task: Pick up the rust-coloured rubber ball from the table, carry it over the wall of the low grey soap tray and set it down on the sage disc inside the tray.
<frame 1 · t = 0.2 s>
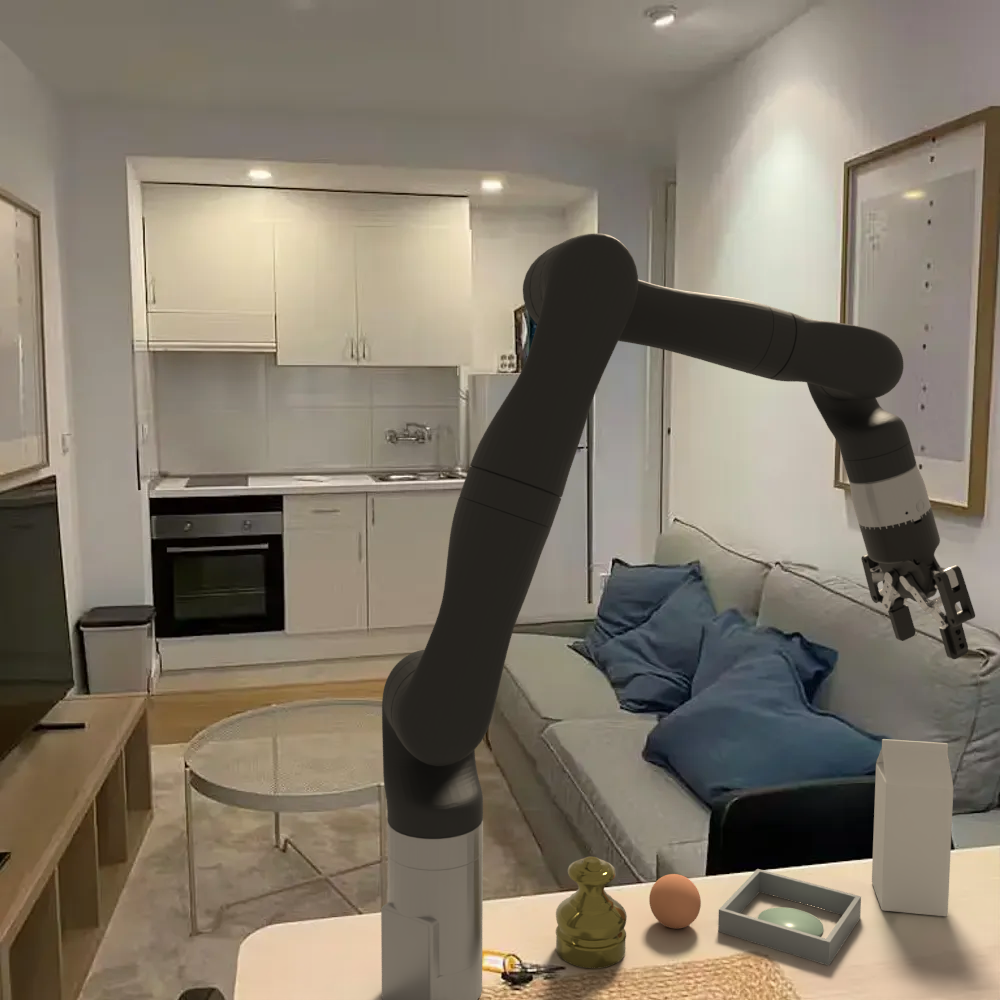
hand: (931, 646, 112), 31 cm above the table, tool tilted 20°, fingers open, 8 cm apart
olive green chess piece: (590, 953, 106), on the table
milk carton: (908, 901, 118), on the table
grey soap tray: (790, 924, 112), on the table
ball: (674, 925, 112), on the table
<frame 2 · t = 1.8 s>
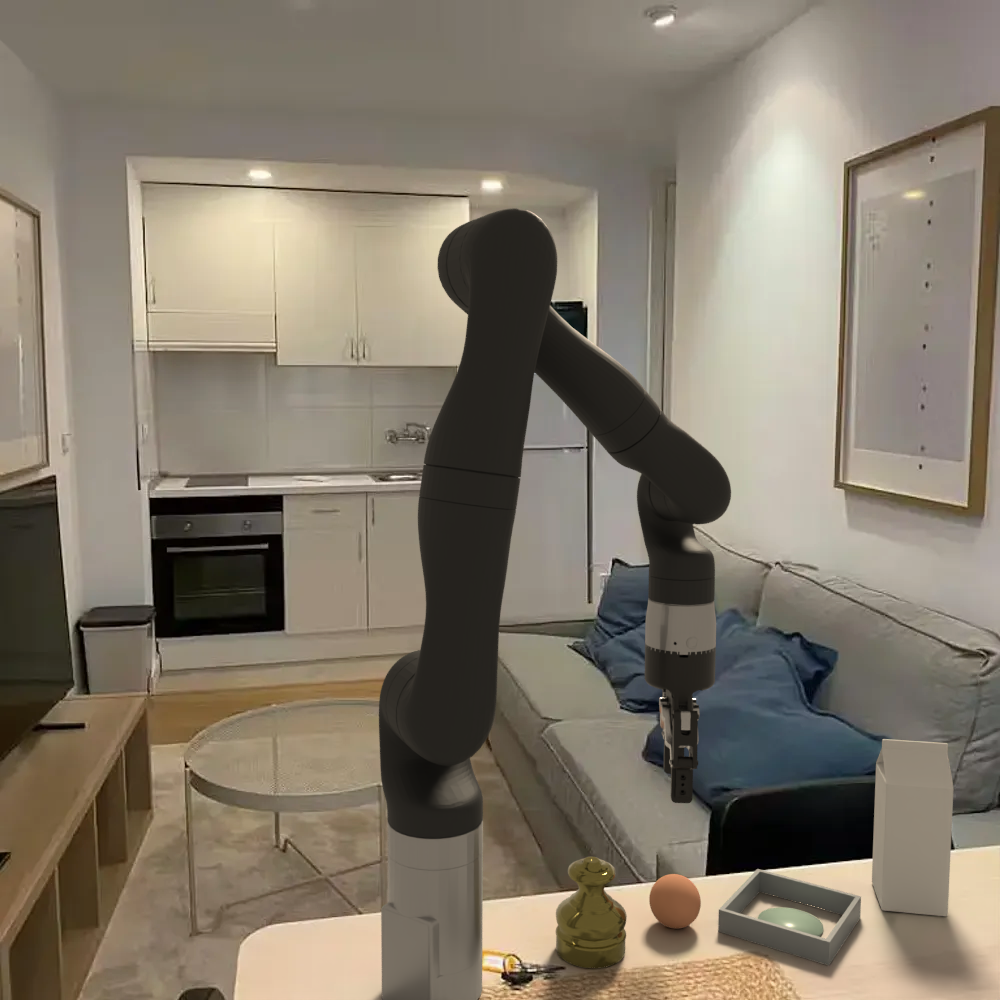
hand: (677, 786, 110), 16 cm above the table, tool pointing down, fingers open, 8 cm apart
nothing on the table moved.
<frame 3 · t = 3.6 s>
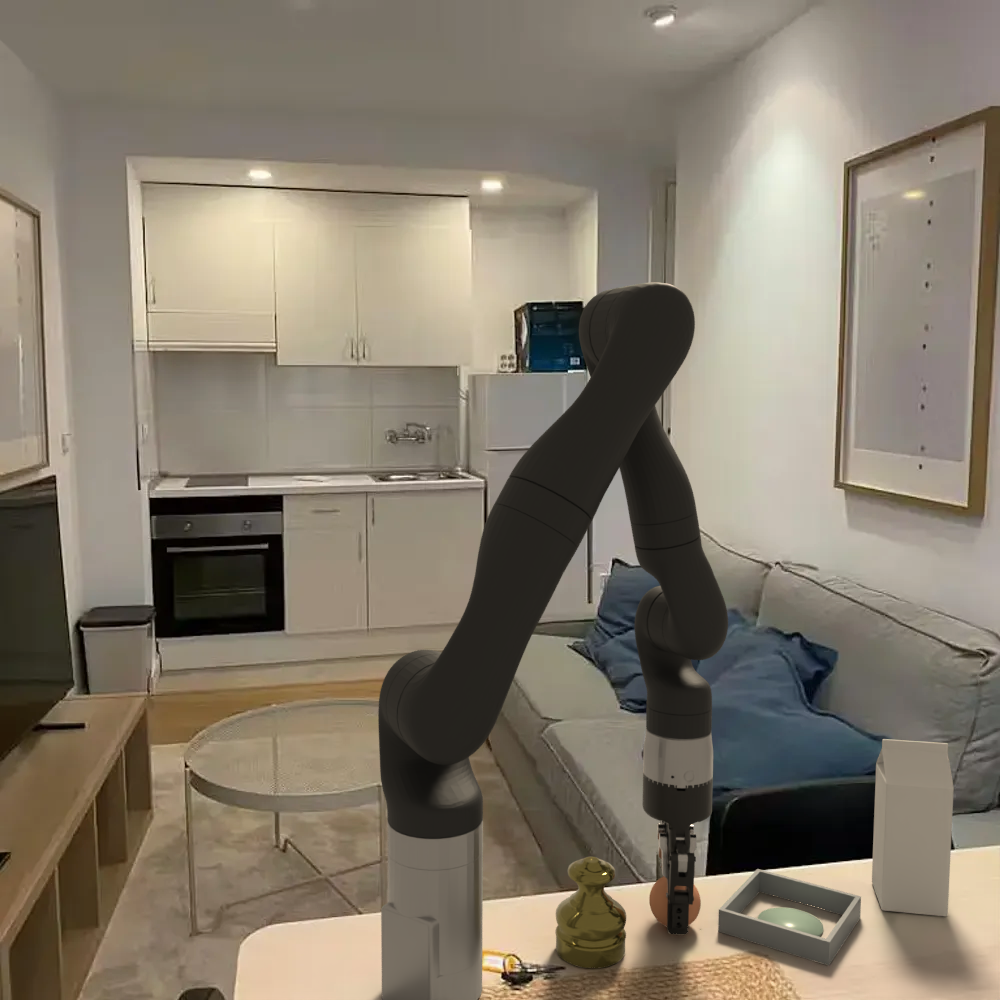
hand: (674, 918, 112), 1 cm above the table, tool pointing down, fingers closed on ball, 5 cm apart
ball: (674, 925, 112), on the table, touching gripper
everything else where it was.
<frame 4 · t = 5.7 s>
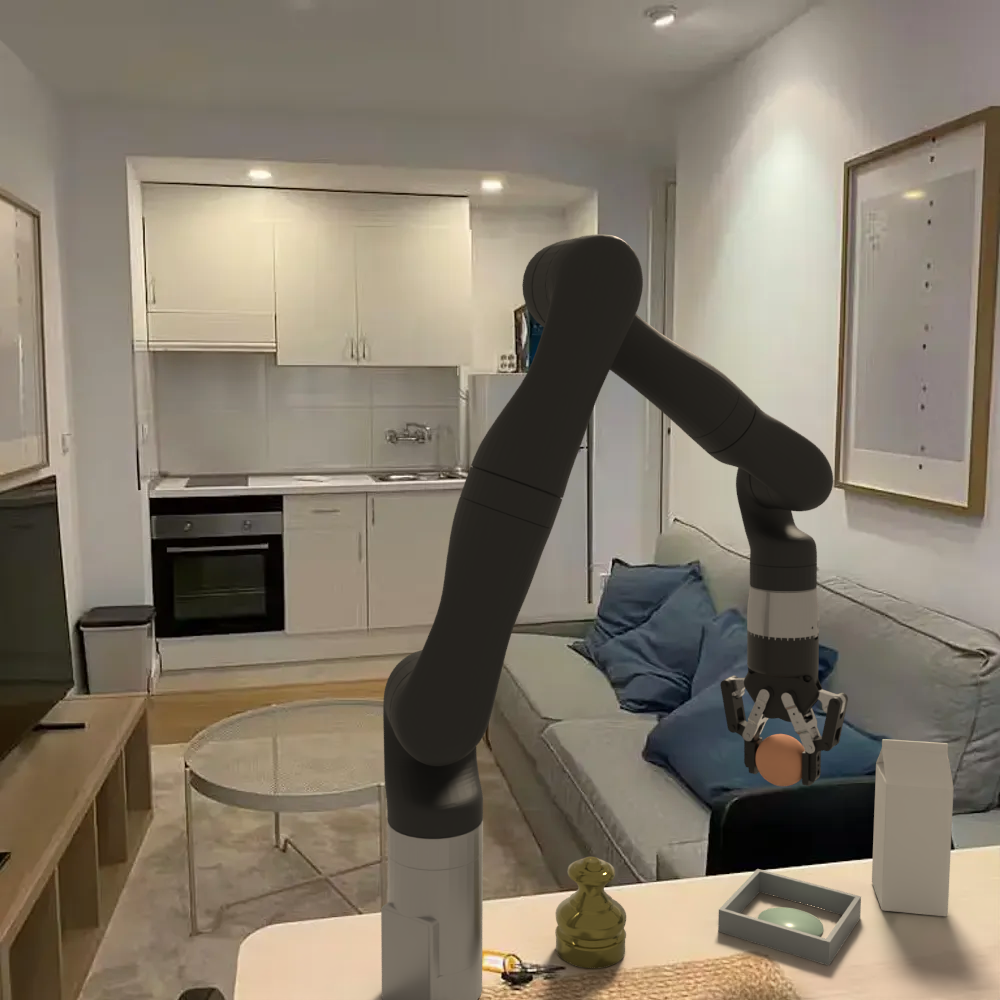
hand: (781, 777, 112), 16 cm above the table, tool pointing down, fingers closed on ball, 5 cm apart
ball: (781, 784, 112), point 16 cm above the table, touching gripper
everything else where it was.
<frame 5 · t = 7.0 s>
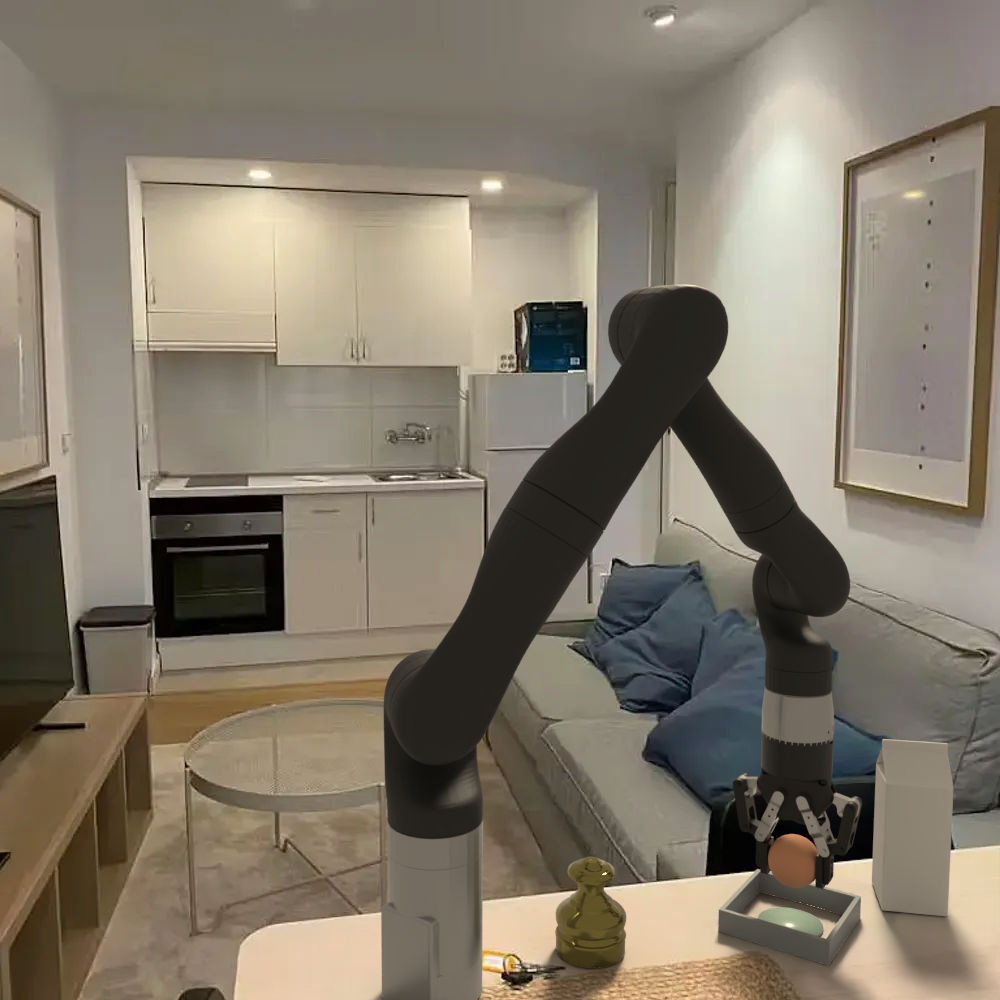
hand: (793, 877, 111), 5 cm above the table, tool pointing down, fingers closed on ball, 5 cm apart
ball: (793, 885, 112), point 5 cm above the table, touching gripper
everything else where it was.
when the fingers open (3 cm above the table, at t = 7.8 s): ball drops 2 cm, resting on grey soap tray.
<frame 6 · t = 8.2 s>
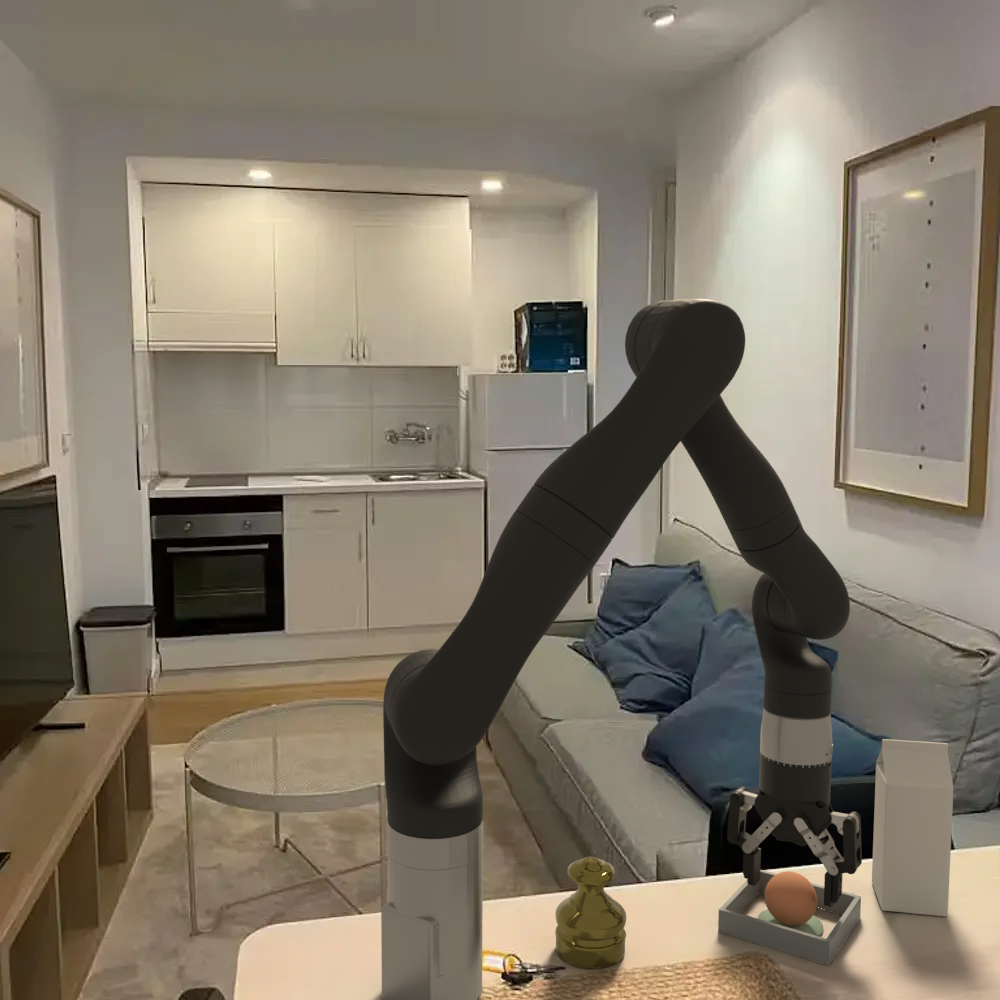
hand: (791, 893, 112), 4 cm above the table, tool pointing down, fingers open, 8 cm apart
ball: (790, 922, 112), resting on grey soap tray
everything else where it was.
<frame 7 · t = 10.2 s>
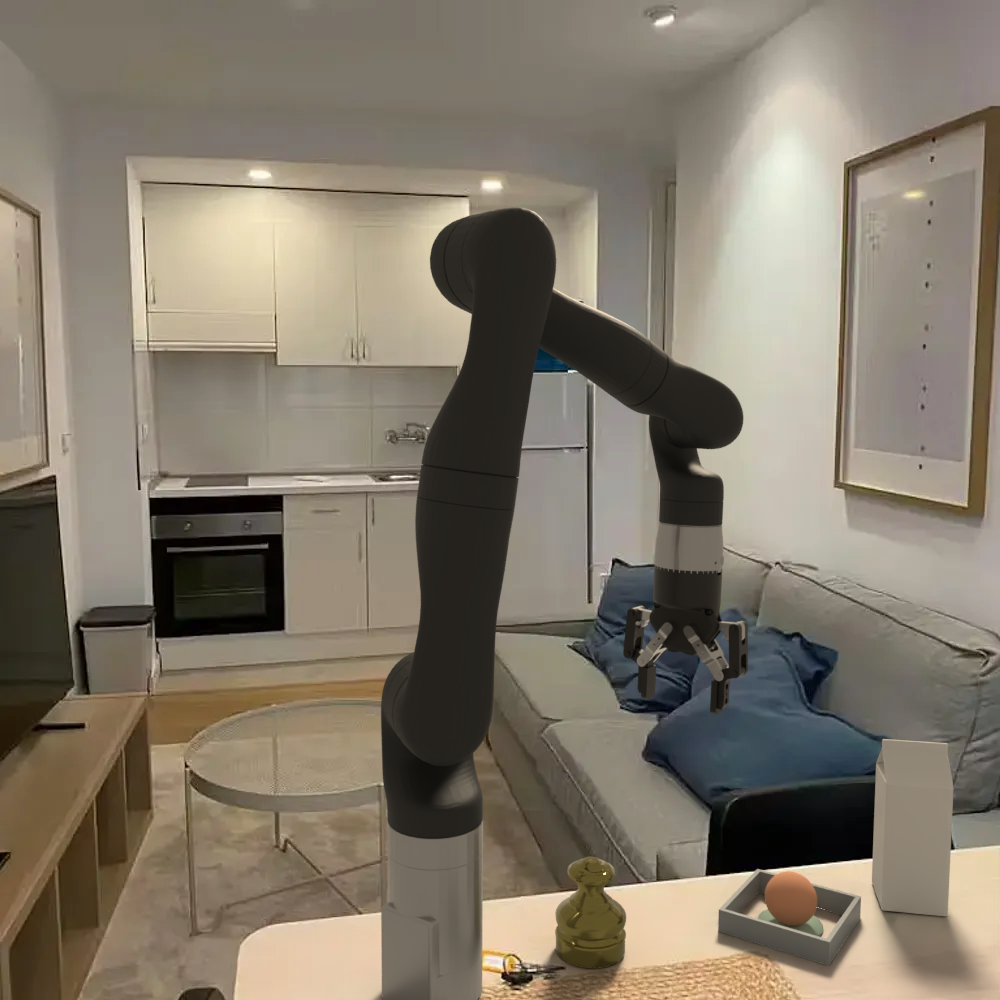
hand: (681, 704, 115), 23 cm above the table, tool pointing down, fingers open, 8 cm apart
nothing on the table moved.
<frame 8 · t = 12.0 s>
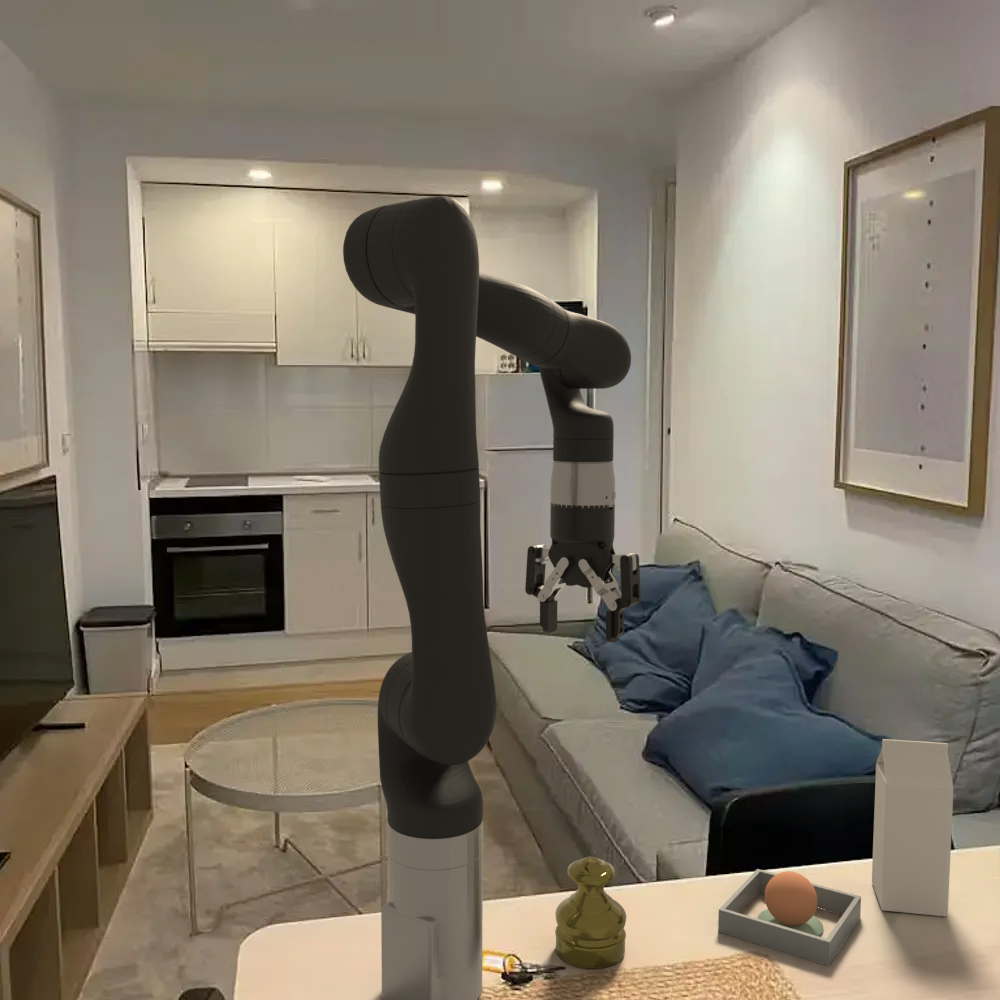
hand: (580, 636, 119), 30 cm above the table, tool pointing down, fingers open, 8 cm apart
nothing on the table moved.
at the end: ball inside the target area on the grey soap tray (0.0 cm from its centre), point 0.2 cm above the grey soap tray's base; the gripper is holding nothing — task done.
